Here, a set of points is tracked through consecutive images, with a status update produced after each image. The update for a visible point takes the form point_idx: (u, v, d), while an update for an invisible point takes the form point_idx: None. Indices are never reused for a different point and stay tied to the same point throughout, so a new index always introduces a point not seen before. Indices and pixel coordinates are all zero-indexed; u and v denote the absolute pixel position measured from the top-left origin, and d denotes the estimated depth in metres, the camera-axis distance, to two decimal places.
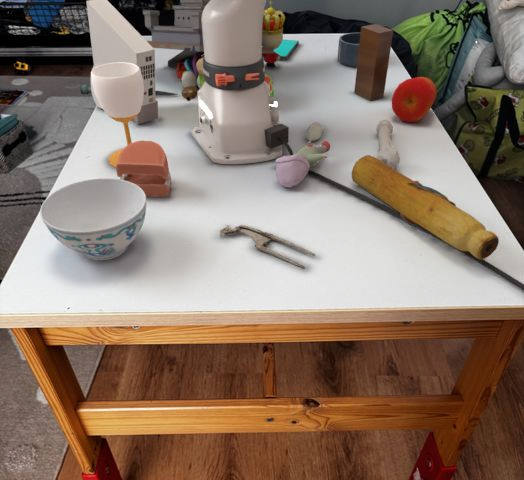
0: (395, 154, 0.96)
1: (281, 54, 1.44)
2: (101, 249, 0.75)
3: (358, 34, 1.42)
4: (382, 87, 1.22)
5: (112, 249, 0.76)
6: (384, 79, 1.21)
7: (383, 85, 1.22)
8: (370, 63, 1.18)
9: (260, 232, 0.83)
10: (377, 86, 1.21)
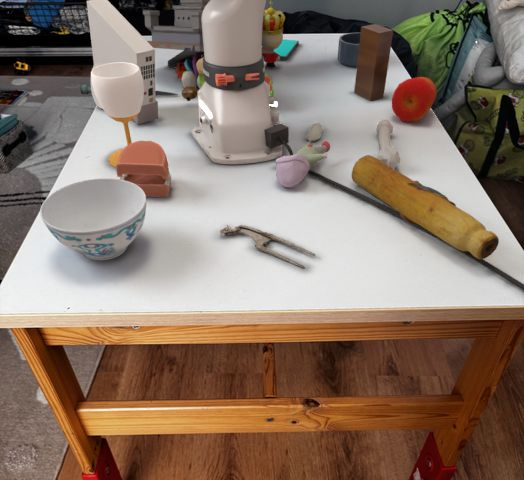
0: (395, 154, 0.96)
1: (281, 54, 1.44)
2: (101, 249, 0.75)
3: (358, 34, 1.42)
4: (382, 87, 1.22)
5: (112, 249, 0.76)
6: (384, 79, 1.21)
7: (383, 85, 1.22)
8: (370, 63, 1.18)
9: (260, 232, 0.83)
10: (377, 86, 1.21)
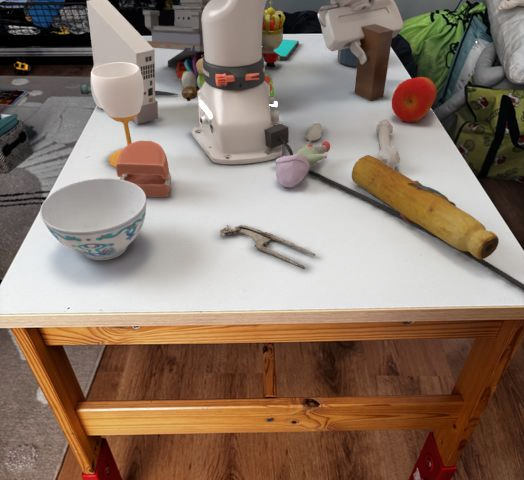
0: (395, 154, 0.96)
1: (281, 54, 1.44)
2: (101, 249, 0.75)
3: None
4: (382, 87, 1.22)
5: (112, 249, 0.76)
6: (384, 79, 1.21)
7: (383, 85, 1.22)
8: (370, 63, 1.18)
9: (260, 232, 0.83)
10: (377, 86, 1.21)
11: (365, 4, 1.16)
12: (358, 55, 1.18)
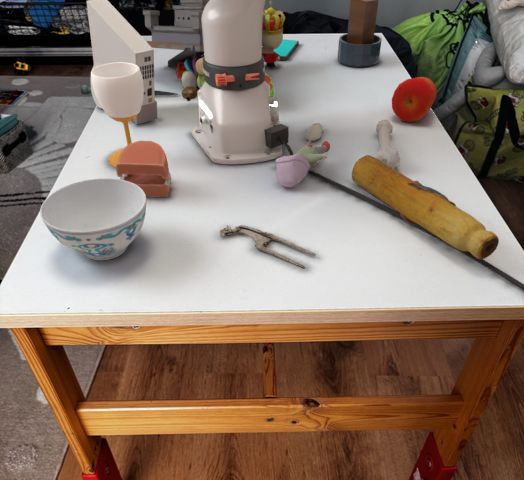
0: (395, 154, 0.96)
1: (281, 54, 1.44)
2: (101, 249, 0.75)
3: None
4: None
5: (112, 249, 0.76)
6: None
7: None
8: (358, 29, 1.35)
9: (260, 232, 0.83)
10: None
11: None
12: None
